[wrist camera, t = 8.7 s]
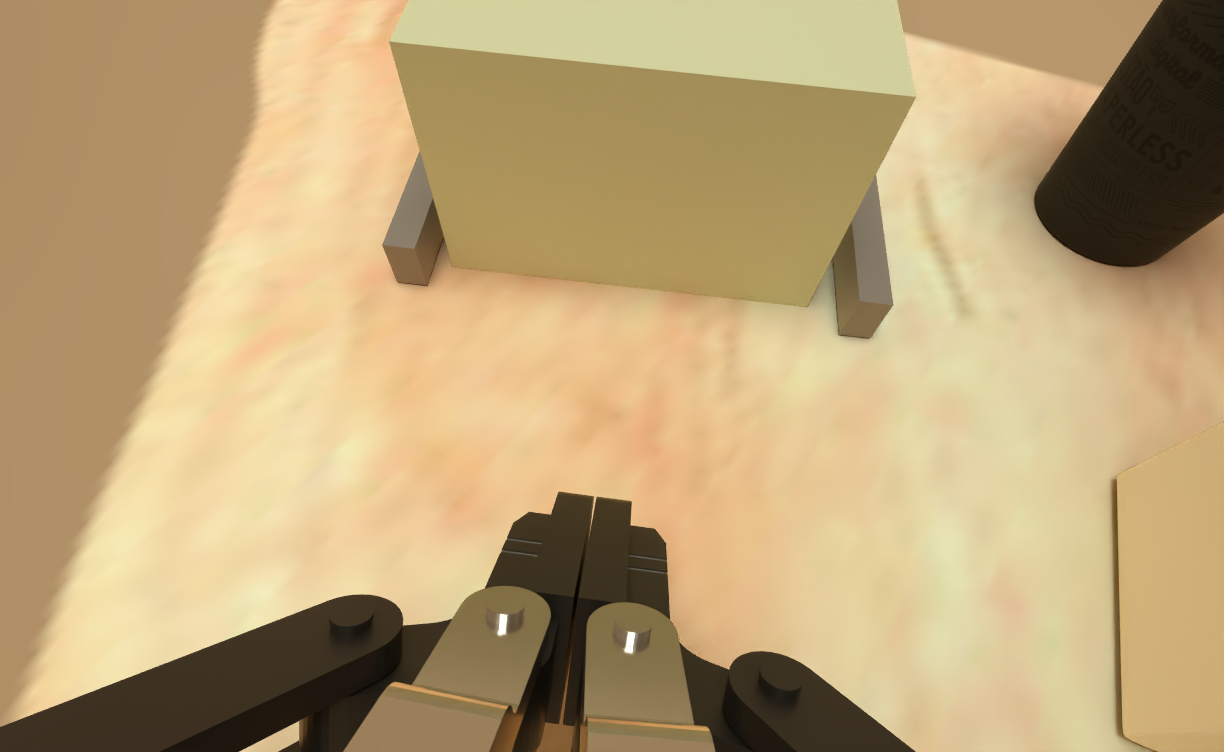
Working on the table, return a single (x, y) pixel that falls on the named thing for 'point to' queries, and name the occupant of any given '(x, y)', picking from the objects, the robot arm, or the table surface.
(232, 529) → the table surface
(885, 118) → the t block
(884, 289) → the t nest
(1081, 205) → the drinking cup
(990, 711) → the table surface
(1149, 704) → the milk carton
